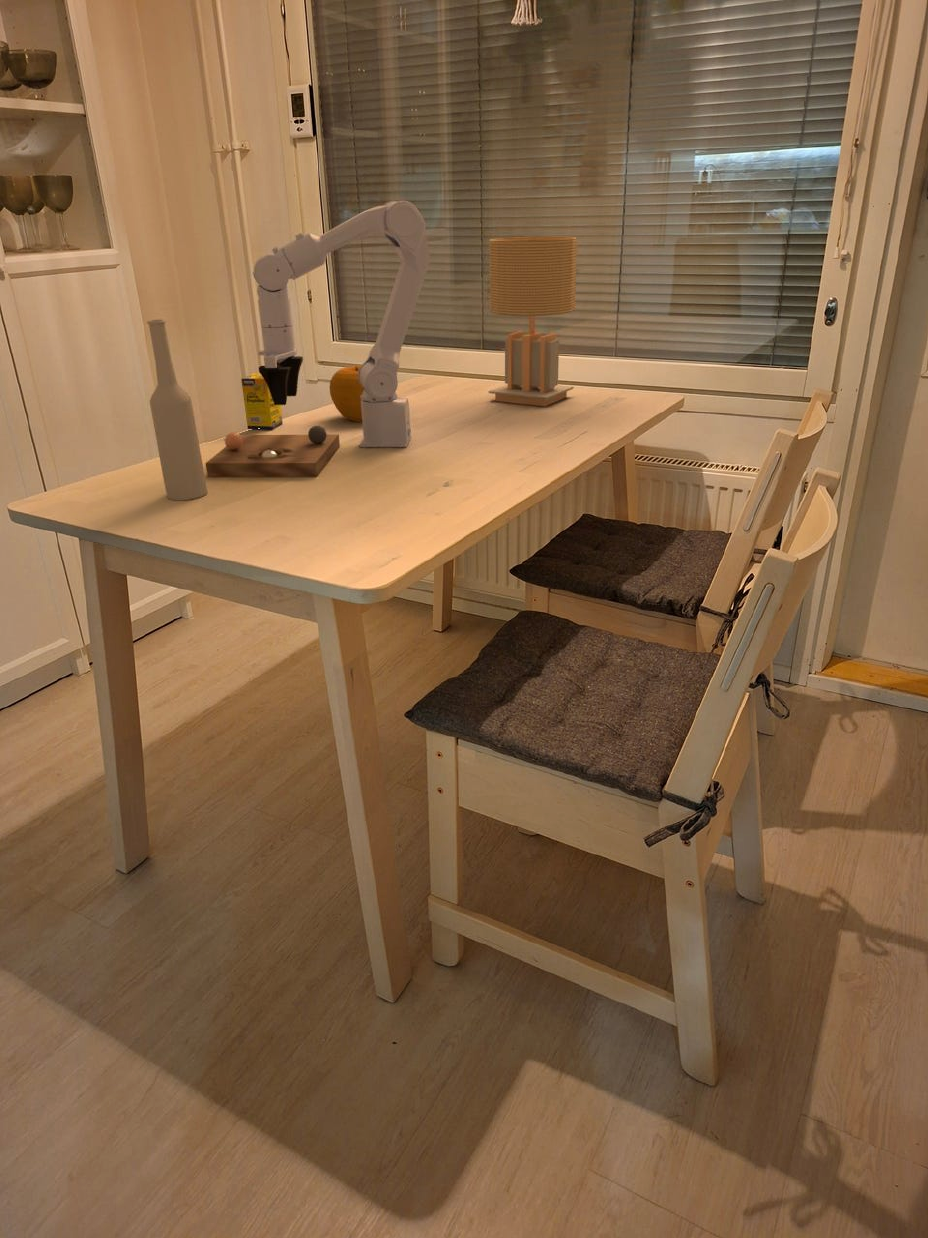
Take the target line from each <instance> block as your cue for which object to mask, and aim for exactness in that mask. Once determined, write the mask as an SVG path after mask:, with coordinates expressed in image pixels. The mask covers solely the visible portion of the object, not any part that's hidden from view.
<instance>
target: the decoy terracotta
mask: <svg viewBox="0 0 928 1238" xmlns="http://www.w3.org/2000/svg"><path fill="white" fill-rule="evenodd" d="M240 435H241V434H239V433H237V432H229V433H228V434H227V435H226V436H225V438H224V444H225V447H226V446H227V447H228V448H229V449H231V450H237V449H239V448H240V447H241V446H242V442H243V441H242V438H241V436H240Z"/></svg>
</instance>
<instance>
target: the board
mask: <svg viewBox="0 0 928 1238" xmlns="http://www.w3.org/2000/svg"><path fill="white" fill-rule="evenodd" d="M239 435H240V436H241V438H242V441H243V442H242V446H241V447H240V448H239V449H237V450H231V449H229V448H228V447H227V446H226V445H225V447H223V448H222V449H221V450H220V451H218V452H217V453H215V455H214V456H213V457H211V458H210V459H209V460H208V461H206V462H205V463H204V464H205V469H206V474H207V477H208V478H243V477H244V478H246V477H247V478H260V477H261V478H265V477H266V478H273V477H274V478H276V477H277V478H286V477H288V478H290V477H291V478H292V477H293V478H302V477H303V478H305V477H306V478H307V477H308V478H310V477H311V478H312V477H313V478H316V477H318V476H319V475H320V473H321V472H322V471H323V470H324V468H325V467H326V466H327V465H328V463H329V462H330V461H331V459H332V458H333V457H334V455H335V454H336V453H337V451H338V450H339V449H340V447H341V443H340V435H339V434H335V433H334V434H331V433H330V434H327V433H326V439H325V441H324V442H323V443H321V444H315V443H313V442H311V441H310V439H309V436H308V434H239ZM266 450H272V451H274V452H276V453H277V455H278V456H275V457H261V455H262V453H263V452H265V451H266Z"/></svg>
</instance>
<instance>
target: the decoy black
mask: <svg viewBox="0 0 928 1238" xmlns="http://www.w3.org/2000/svg"><path fill="white" fill-rule="evenodd" d="M326 434H327V432H326V429H325V428H324V427H322V426H320V425H313V426H312V427H311V428H310V429H309V430H308V434H307V435H308V436H309V439H310V441H311V442H313V443H315V444H321V443H323V442H324V441H325V439H326Z"/></svg>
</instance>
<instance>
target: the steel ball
mask: <svg viewBox="0 0 928 1238" xmlns="http://www.w3.org/2000/svg"><path fill="white" fill-rule="evenodd" d="M275 456H278V455H277V453H276V452H274V451H272V450H266V451H265V452H263V453H262V455H261V457H275Z"/></svg>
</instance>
